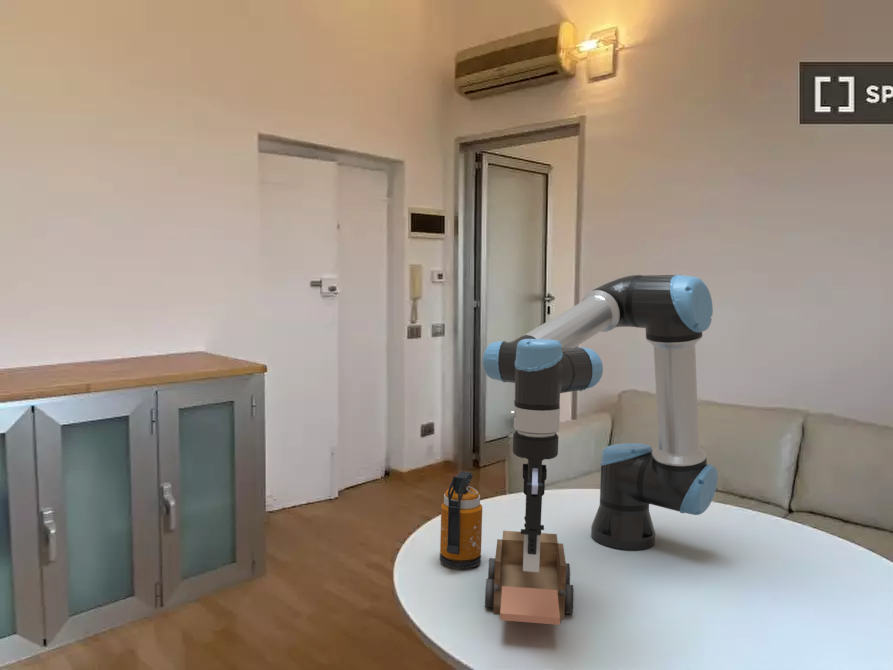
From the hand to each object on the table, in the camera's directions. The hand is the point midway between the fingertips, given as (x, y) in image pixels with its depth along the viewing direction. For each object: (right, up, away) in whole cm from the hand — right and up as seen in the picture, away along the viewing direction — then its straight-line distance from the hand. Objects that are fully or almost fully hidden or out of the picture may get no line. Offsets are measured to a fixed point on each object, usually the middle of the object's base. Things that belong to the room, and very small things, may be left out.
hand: (531, 569), depth 114 cm
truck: (+2, -12, +18) cm, 22 cm away
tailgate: (+1, -7, +10) cm, 13 cm away
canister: (-12, -11, +33) cm, 37 cm away
